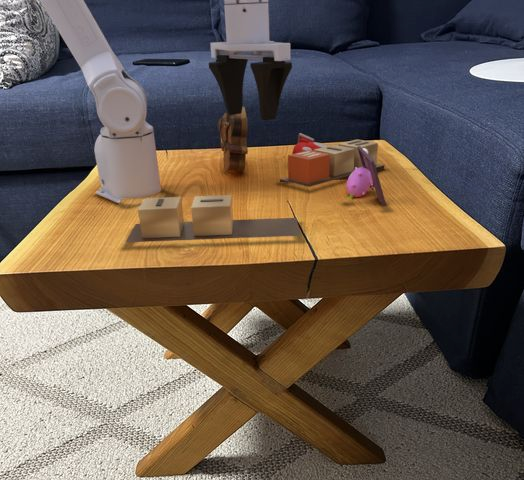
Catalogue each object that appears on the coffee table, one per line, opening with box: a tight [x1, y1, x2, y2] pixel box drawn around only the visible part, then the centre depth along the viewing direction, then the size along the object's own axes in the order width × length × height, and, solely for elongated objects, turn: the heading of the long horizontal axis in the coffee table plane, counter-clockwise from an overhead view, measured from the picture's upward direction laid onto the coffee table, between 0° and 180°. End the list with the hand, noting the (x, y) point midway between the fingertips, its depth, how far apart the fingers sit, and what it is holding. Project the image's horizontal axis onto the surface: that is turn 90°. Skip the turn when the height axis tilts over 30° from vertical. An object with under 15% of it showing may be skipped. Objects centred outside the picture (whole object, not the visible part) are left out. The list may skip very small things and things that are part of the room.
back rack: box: [279, 139, 385, 188], centre depth 86 cm, size 17×6×4 cm, turn 131°
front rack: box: [125, 194, 301, 243], centre depth 65 cm, size 20×6×4 cm, turn 91°
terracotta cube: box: [287, 150, 330, 183], centre depth 83 cm, size 4×4×4 cm
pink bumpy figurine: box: [345, 146, 387, 207], centre depth 74 cm, size 7×5×9 cm
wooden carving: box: [217, 105, 249, 174], centre depth 91 cm, size 16×5×10 cm, turn 13°
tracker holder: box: [291, 132, 329, 154], centre depth 95 cm, size 12×4×10 cm
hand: (251, 116), depth 79 cm, fingers open, 7 cm apart
